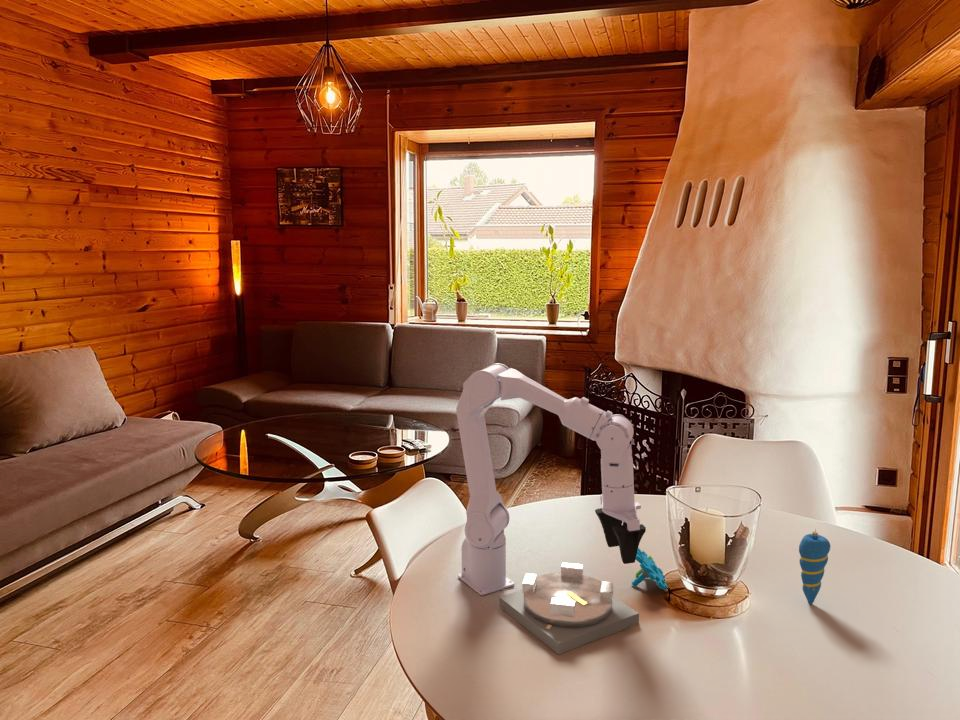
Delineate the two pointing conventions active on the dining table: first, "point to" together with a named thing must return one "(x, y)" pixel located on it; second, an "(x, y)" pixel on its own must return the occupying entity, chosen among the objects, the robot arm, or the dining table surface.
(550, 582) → the lugged metal disc
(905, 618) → the dining table surface
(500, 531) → the robot arm
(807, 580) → the ornament
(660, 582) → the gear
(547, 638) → the base plate
